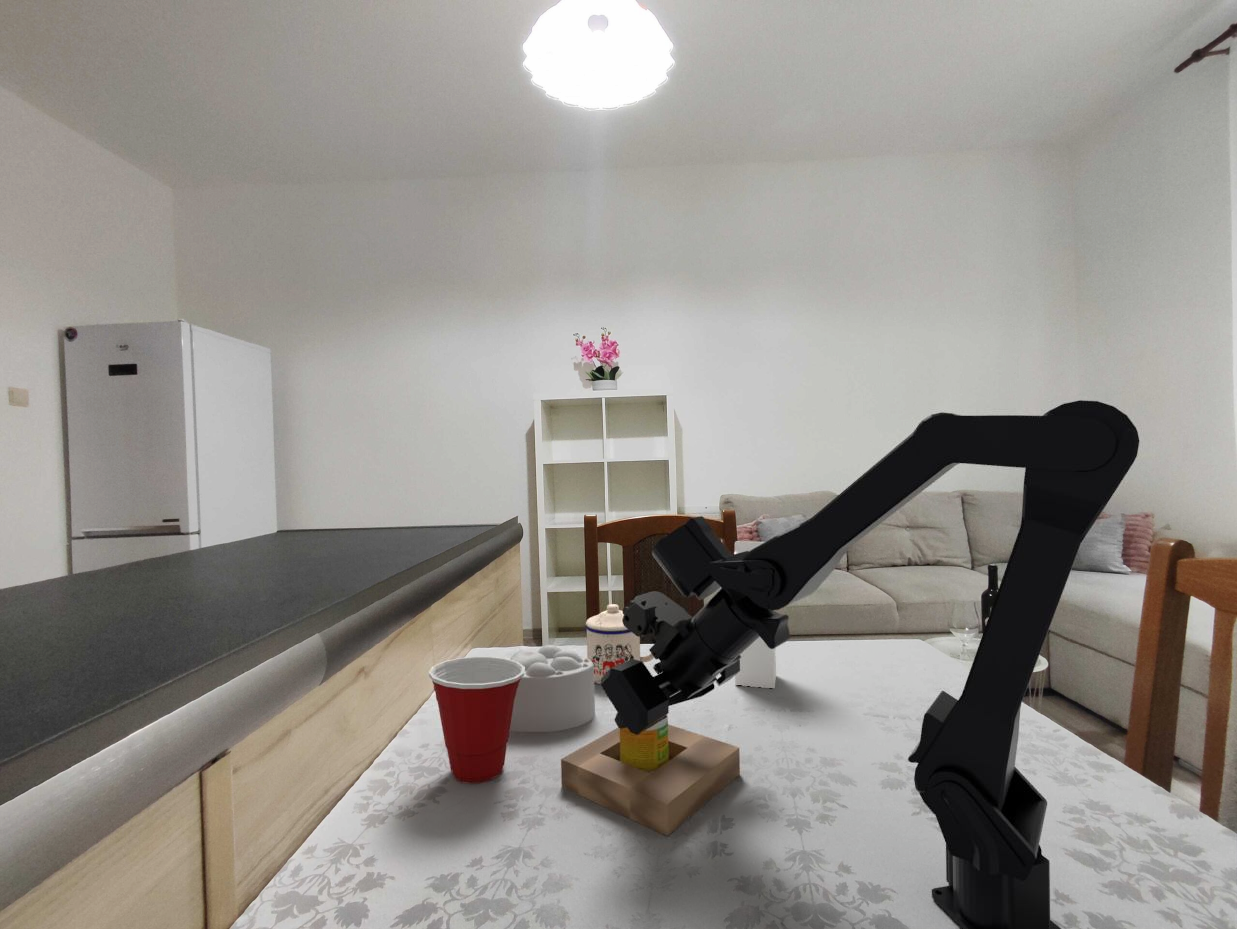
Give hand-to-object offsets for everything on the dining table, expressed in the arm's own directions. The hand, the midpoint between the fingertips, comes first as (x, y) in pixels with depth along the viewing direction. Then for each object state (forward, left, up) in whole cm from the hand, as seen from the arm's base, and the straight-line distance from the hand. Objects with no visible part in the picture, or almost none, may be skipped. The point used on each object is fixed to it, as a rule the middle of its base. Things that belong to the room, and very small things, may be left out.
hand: (633, 714), depth 68 cm
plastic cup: (+5, +17, -7) cm, 19 cm away
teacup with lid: (+30, -5, -7) cm, 31 cm away
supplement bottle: (-1, -1, -7) cm, 7 cm away
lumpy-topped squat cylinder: (+18, +8, -7) cm, 21 cm away
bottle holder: (-1, -1, -7) cm, 7 cm away
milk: (+23, -25, -7) cm, 34 cm away
